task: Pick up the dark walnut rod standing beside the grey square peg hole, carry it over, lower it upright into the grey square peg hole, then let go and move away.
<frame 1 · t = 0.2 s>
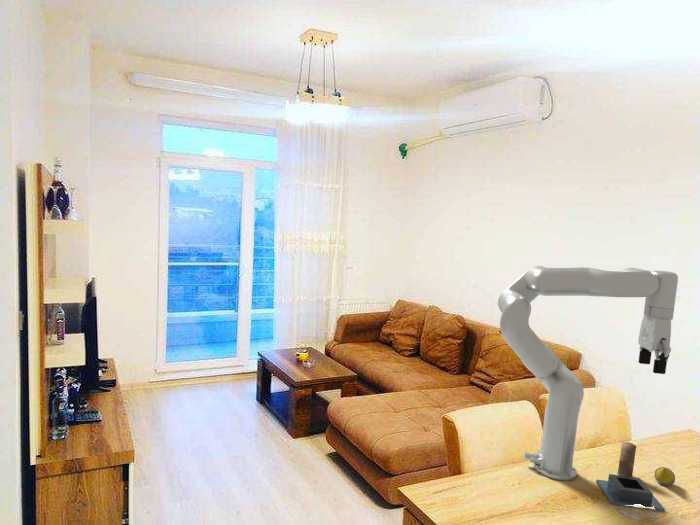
hand: (651, 368, 152), 36 cm above the table, fingers open, 9 cm apart
yellow grooved cone part: (665, 485, 154), on the table
grey square peg hole: (628, 496, 146), on the table
walnut rod: (624, 475, 159), on the table
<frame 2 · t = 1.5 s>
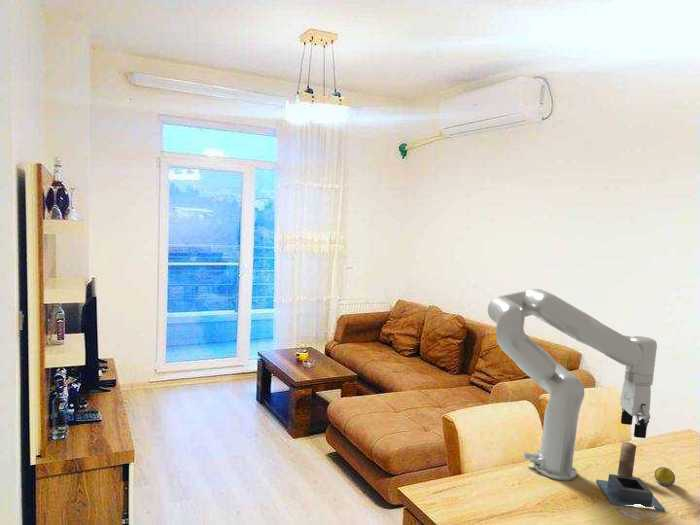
hand: (632, 430, 157), 15 cm above the table, fingers open, 9 cm apart
nothing on the table moved.
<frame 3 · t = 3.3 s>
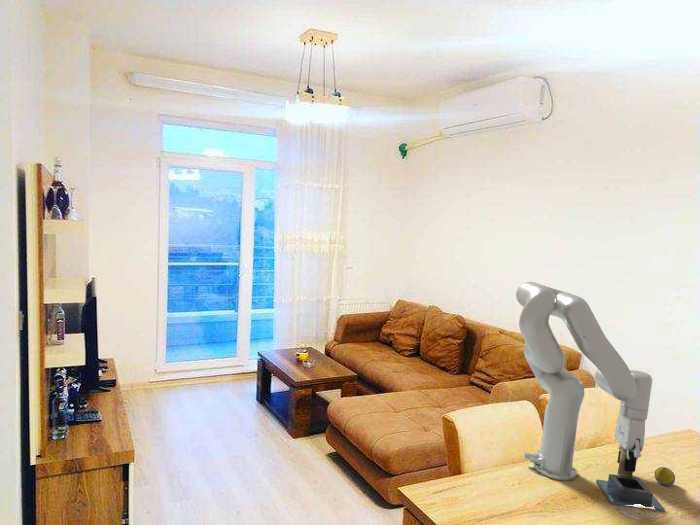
hand: (626, 466, 158), 3 cm above the table, fingers closed on walnut rod, 4 cm apart
walnut rod: (624, 475, 159), on the table, touching gripper
everything else where it was.
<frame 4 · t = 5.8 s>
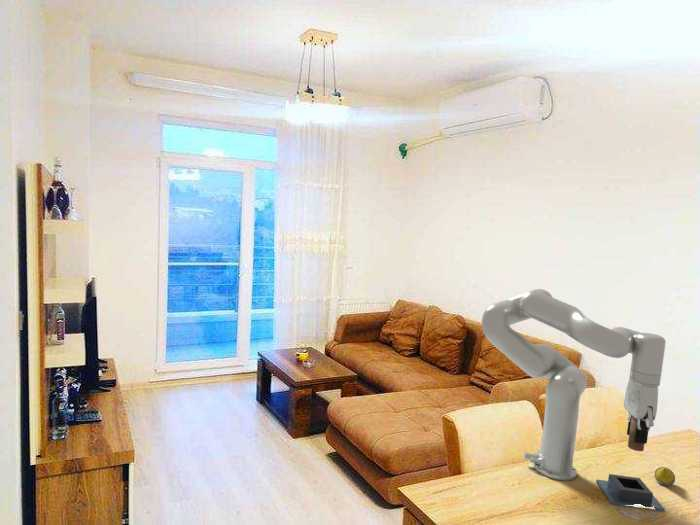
hand: (636, 438, 145), 17 cm above the table, fingers closed on walnut rod, 4 cm apart
walnut rod: (635, 447, 145), point 14 cm above the table, touching gripper
everything else where it was.
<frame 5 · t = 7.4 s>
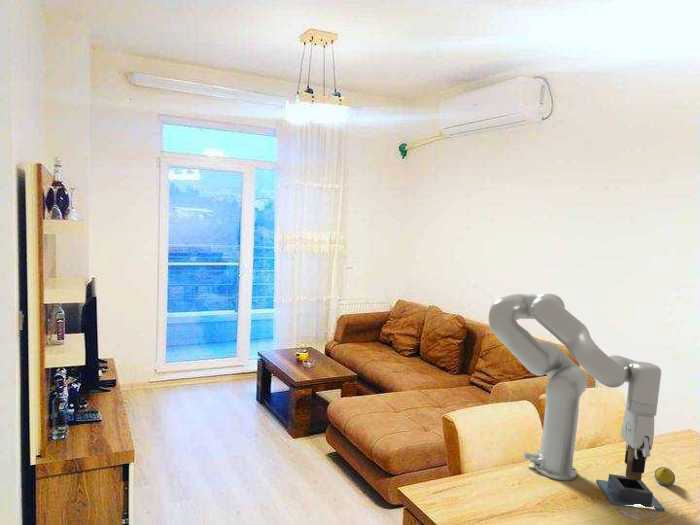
hand: (634, 467, 145), 9 cm above the table, fingers closed on walnut rod, 4 cm apart
walnut rod: (633, 476, 145), point 6 cm above the table, touching gripper
everything else where it was.
when the fingers open (5 cm above the table, at t = 8.5 s): walnut rod drops 1 cm, resting on grey square peg hole.
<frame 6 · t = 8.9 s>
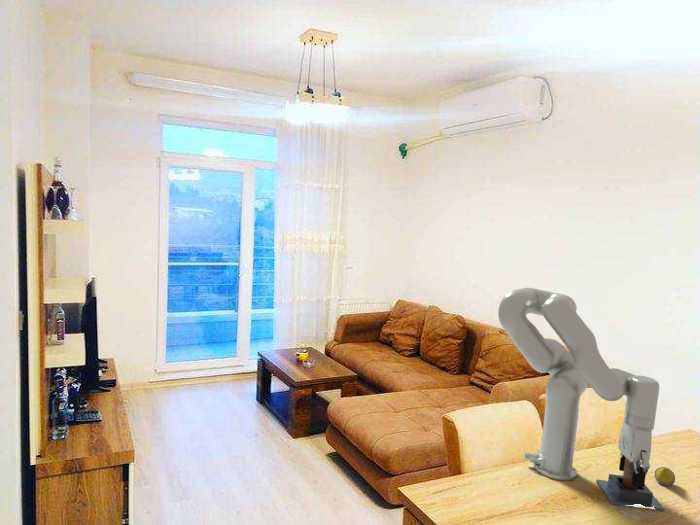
hand: (631, 478, 146), 5 cm above the table, fingers open, 8 cm apart
walnut rod: (629, 493, 146), point 1 cm above the table, touching grey square peg hole
everything else where it was.
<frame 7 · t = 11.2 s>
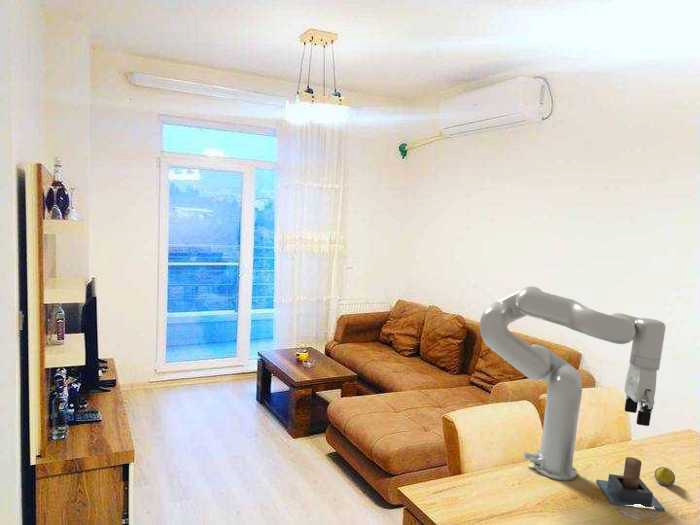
hand: (636, 418, 148), 22 cm above the table, fingers open, 9 cm apart
nothing on the table moved.
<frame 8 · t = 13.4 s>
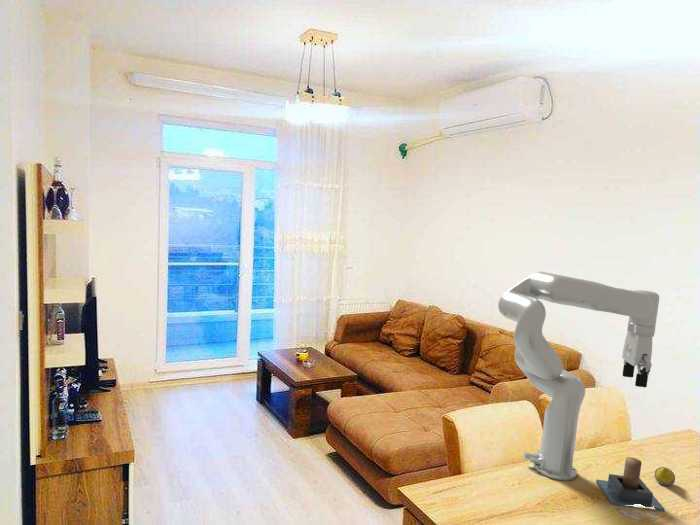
hand: (634, 381, 163), 28 cm above the table, fingers open, 9 cm apart
nothing on the table moved.
at the end: walnut rod 0.1 cm off-centre on the grey square peg hole, point 0.8 cm above the grey square peg hole's base; walnut rod tilted 0°; the gripper is holding nothing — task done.
